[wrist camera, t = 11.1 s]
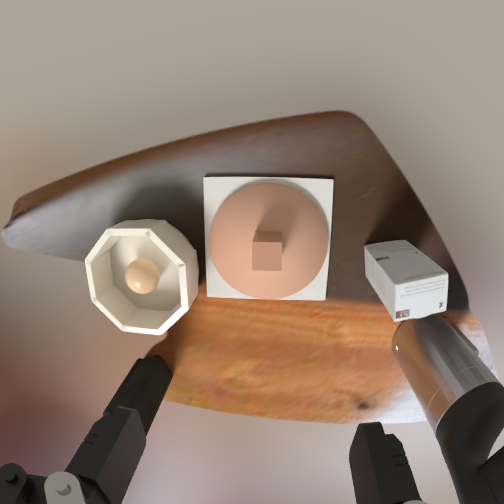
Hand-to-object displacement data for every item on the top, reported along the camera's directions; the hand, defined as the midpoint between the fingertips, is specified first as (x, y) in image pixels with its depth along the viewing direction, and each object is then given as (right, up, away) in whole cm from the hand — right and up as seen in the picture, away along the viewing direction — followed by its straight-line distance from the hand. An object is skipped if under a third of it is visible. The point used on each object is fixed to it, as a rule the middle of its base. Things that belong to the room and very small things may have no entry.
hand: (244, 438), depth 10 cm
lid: (+2, +8, +27) cm, 29 cm away
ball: (-13, +4, +27) cm, 30 cm away
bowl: (-13, +5, +30) cm, 33 cm away
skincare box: (+17, +6, +28) cm, 33 cm away
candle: (-15, -12, +35) cm, 40 cm away
